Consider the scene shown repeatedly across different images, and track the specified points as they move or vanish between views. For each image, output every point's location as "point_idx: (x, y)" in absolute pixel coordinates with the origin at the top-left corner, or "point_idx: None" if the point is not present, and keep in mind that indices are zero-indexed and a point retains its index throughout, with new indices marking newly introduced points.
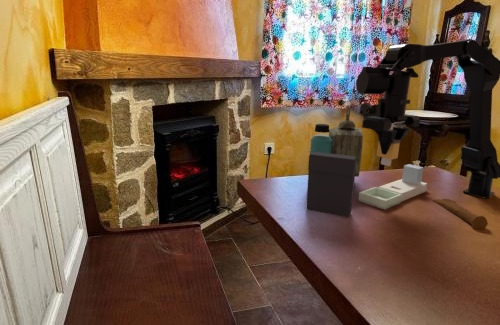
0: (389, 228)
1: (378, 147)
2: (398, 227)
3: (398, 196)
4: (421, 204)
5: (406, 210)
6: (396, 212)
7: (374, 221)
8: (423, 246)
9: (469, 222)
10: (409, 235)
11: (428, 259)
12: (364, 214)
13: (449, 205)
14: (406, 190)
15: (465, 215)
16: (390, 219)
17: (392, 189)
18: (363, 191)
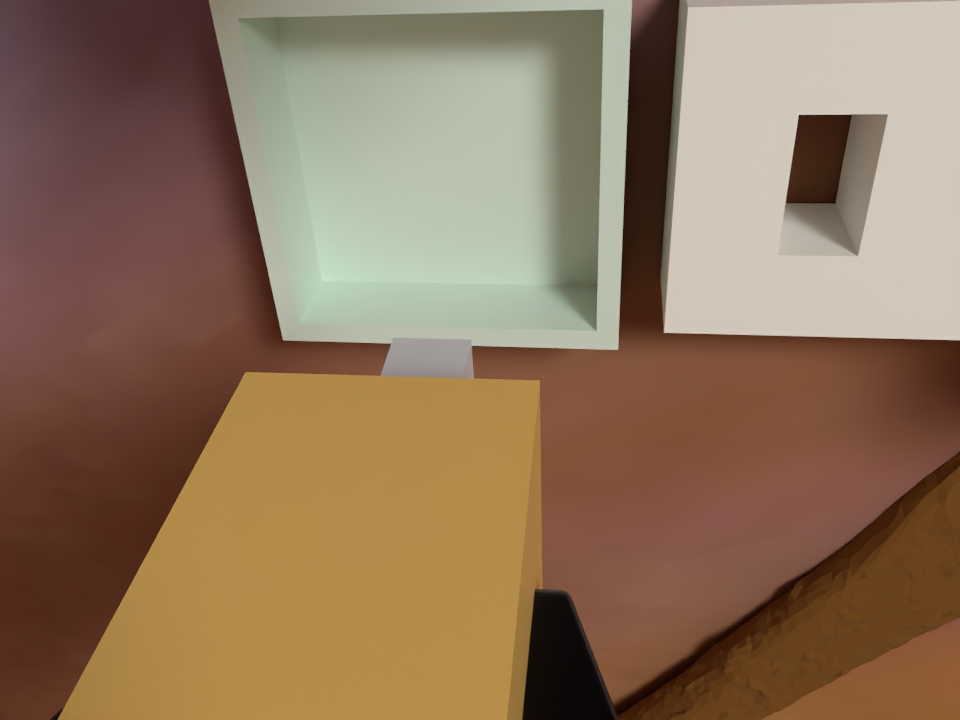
0: (69, 465)
1: (160, 575)
2: (142, 491)
3: (550, 342)
4: (762, 420)
5: None
6: (363, 373)
7: (43, 356)
8: (91, 638)
9: (623, 712)
10: (120, 564)
11: (13, 679)
12: (53, 236)
13: (819, 612)
14: (827, 319)
15: (657, 716)
16: (194, 407)
17: (720, 197)
18: (289, 3)
